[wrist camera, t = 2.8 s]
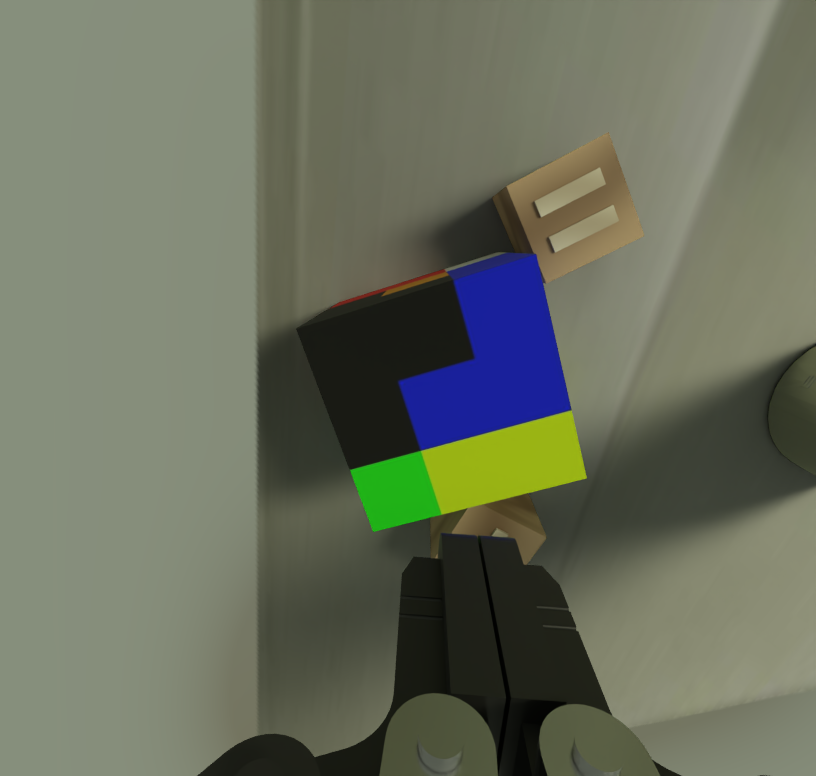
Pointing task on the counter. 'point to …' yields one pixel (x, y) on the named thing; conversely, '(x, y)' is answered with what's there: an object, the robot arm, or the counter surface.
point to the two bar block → (570, 210)
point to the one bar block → (494, 524)
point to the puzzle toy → (447, 390)
